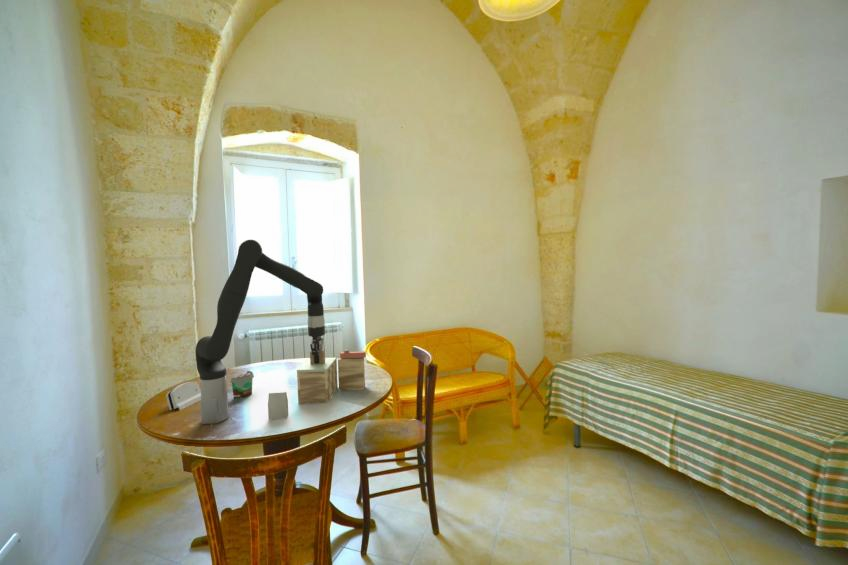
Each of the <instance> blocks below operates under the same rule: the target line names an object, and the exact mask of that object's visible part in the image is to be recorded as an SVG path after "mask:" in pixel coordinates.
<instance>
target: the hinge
mask: <svg viewBox="0 0 848 565" xmlns="http://www.w3.org/2000/svg"><path fill="white" fill-rule="evenodd" d="M165 398H166V401H167V405H168V408H169V409H168V410H169V411H172V410H175V409H178V410H179V411H182V410H184V409H185V408H188V407H190V406H191V405H193V404H196V403H197V402H199V401H201V387H200V385H199V384H198V382H197V381H187V382H184V383H181V384H178V385H176V386H174V387H173V388H172V389H171V390H169V391H168V392H167V393H166V395H165Z"/></svg>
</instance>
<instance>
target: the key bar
mask: <svg viewBox="0 0 848 565" xmlns="http://www.w3.org/2000/svg"><path fill="white" fill-rule="evenodd" d="M339 357H340V358H364V359H365V358H366V357H367V351H366V350H365V351H350V349H344V351H340V352H339Z"/></svg>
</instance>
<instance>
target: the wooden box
mask: <svg viewBox="0 0 848 565" xmlns="http://www.w3.org/2000/svg"><path fill="white" fill-rule="evenodd" d="M365 372H366V371H365V358H340V356H339V357H338V358H337V360H336V361H335V362H334V363H333V365H332V366H331V367H330V368H329V369H328V371H322V372H297V371H296V378H297V379H296V380H297V382H296V383H297V399H298V400H297V402H298V404H301V405H302V404H303V405H304V404H328V403H329V402H330V401H331V399H332V398H333V396H334V394H335V392H336V391H337V390H336V389H338V391H339V390H342V391H364V390H365V389H366V376H365Z"/></svg>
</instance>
